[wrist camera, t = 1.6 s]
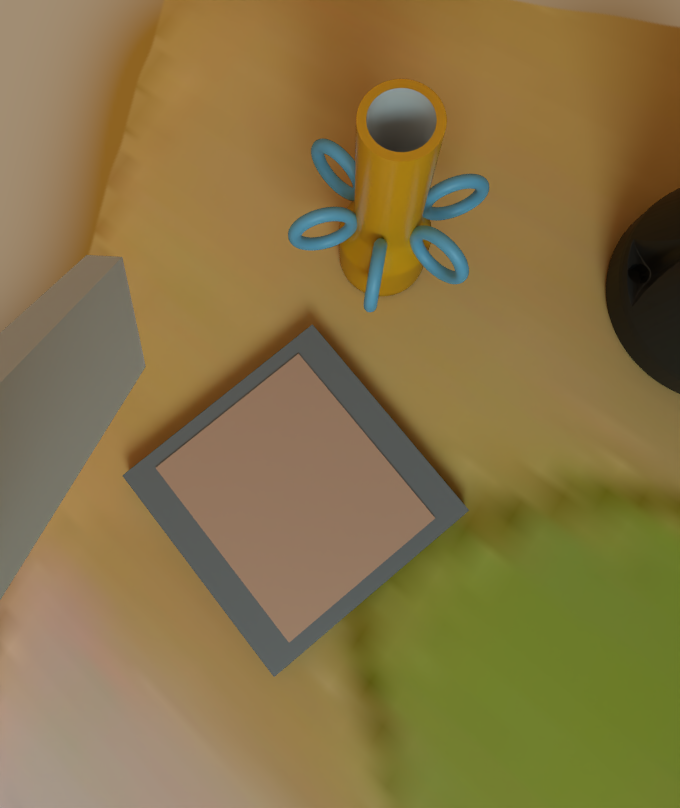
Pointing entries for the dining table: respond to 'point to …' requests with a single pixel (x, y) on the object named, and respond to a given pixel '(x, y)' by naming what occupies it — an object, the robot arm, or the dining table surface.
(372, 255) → the tube with blue rings
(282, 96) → the dining table surface
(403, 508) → the tray
